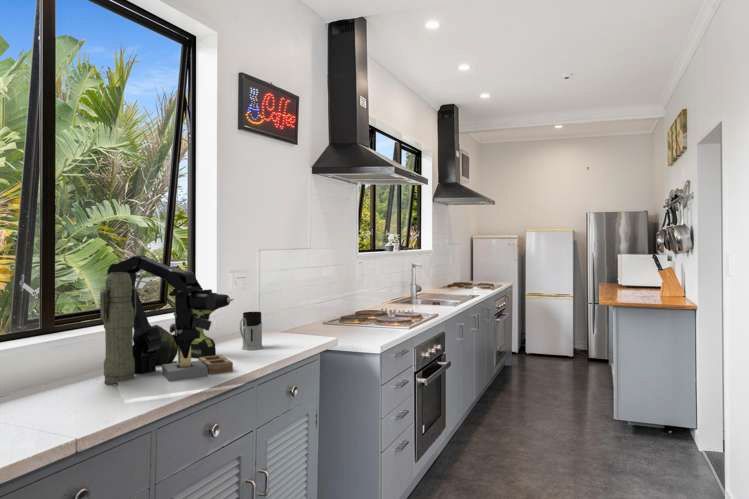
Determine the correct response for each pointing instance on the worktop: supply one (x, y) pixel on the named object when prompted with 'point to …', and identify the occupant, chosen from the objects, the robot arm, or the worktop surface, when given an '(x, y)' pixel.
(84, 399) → the worktop surface
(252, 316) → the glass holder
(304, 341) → the worktop surface
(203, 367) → the socket block
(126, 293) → the olive carved statue
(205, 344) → the cordless drill
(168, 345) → the squash
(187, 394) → the worktop surface
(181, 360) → the block
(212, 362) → the walnut rack
